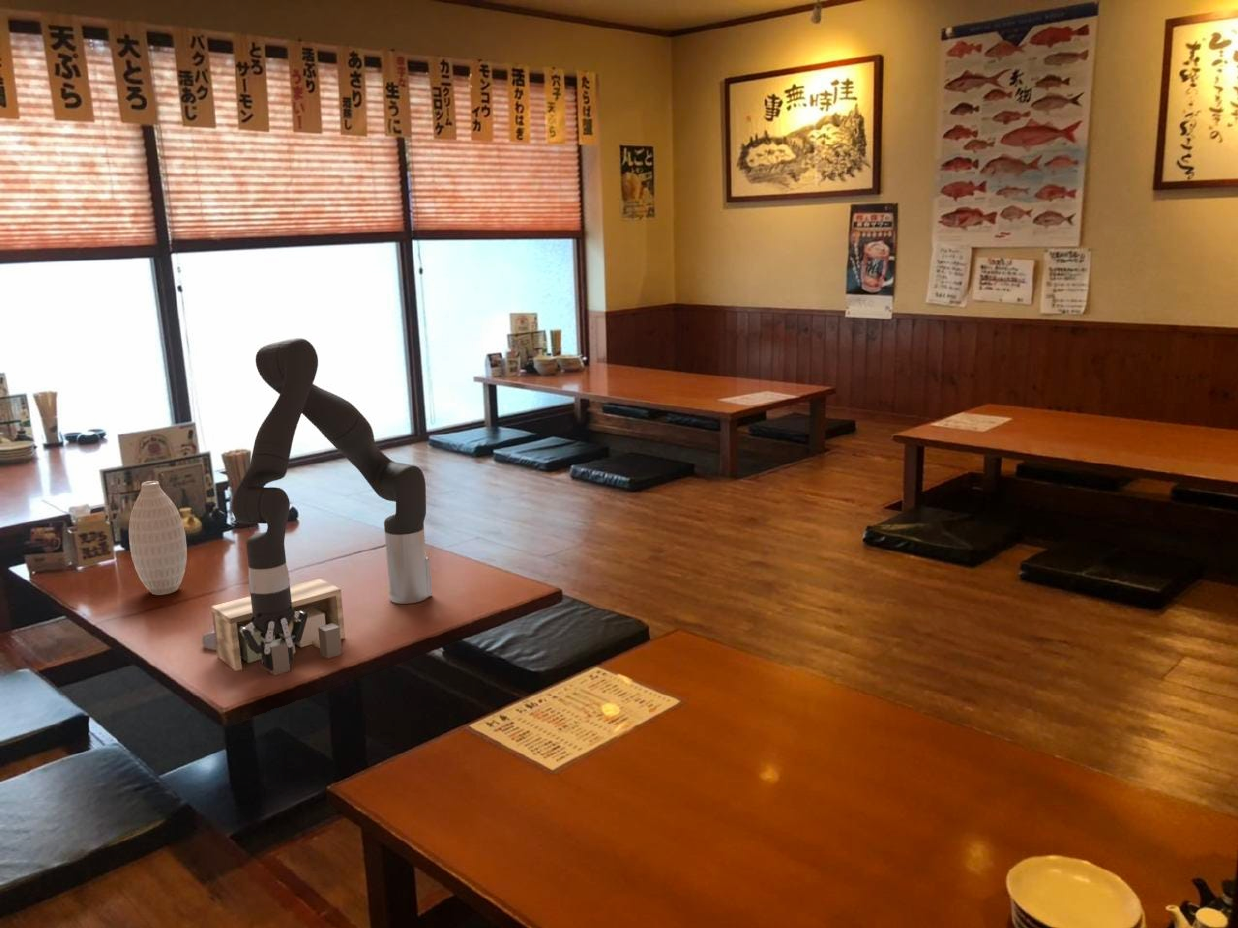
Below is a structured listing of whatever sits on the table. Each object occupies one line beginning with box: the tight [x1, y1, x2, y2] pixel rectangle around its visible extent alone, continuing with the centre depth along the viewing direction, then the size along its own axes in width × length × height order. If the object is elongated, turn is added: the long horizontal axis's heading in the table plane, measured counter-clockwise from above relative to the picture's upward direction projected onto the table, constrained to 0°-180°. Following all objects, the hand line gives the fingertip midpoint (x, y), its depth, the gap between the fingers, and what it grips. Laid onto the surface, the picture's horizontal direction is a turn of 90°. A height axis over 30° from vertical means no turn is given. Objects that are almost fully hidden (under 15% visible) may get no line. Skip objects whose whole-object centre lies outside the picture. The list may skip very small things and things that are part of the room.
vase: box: [128, 480, 188, 596], centre depth 245 cm, size 13×13×28 cm
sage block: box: [237, 624, 291, 676], centre depth 203 cm, size 16×6×6 cm, turn 42°
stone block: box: [202, 629, 217, 651], centre depth 216 cm, size 12×5×10 cm
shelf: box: [210, 578, 346, 671], centre depth 210 cm, size 10×24×11 cm, turn 132°
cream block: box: [292, 607, 343, 659], centre depth 210 cm, size 16×6×6 cm, turn 42°
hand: (278, 666), depth 199 cm, fingers closed on sage block, 3 cm apart
